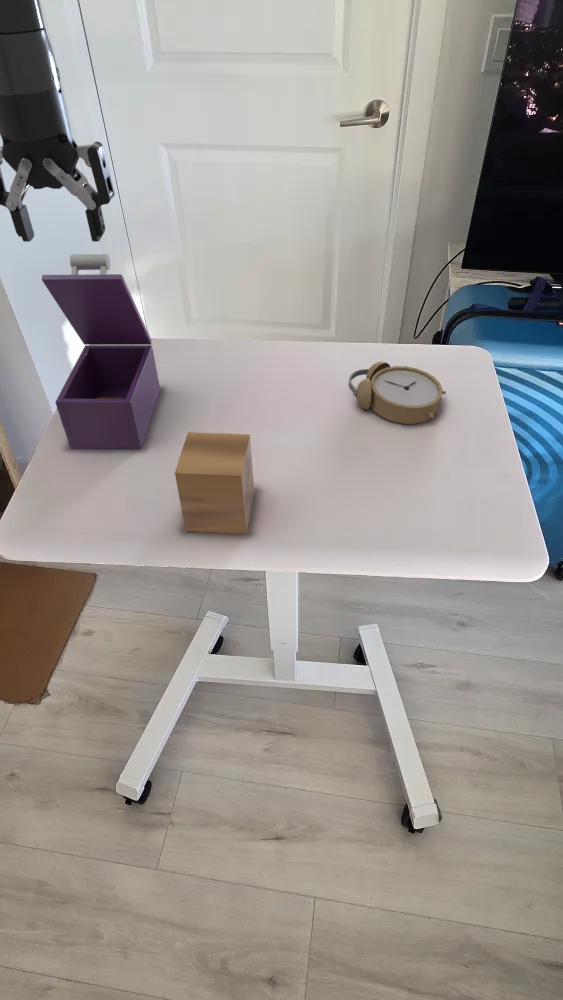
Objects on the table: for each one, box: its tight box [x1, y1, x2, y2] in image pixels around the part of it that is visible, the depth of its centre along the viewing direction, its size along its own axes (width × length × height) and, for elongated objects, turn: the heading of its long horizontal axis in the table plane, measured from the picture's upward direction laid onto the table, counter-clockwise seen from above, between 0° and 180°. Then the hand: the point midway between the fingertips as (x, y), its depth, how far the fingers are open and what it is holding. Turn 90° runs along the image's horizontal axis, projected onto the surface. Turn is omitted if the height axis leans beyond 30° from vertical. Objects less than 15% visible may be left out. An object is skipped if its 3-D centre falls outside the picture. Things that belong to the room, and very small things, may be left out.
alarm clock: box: [348, 361, 447, 425], centre depth 99 cm, size 11×5×15 cm
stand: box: [174, 431, 255, 535], centre depth 80 cm, size 8×8×10 cm
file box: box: [54, 344, 161, 450], centre depth 96 cm, size 16×11×8 cm
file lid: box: [41, 253, 152, 346], centre depth 92 cm, size 17×11×5 cm
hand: (63, 239), depth 77 cm, fingers open, 8 cm apart
